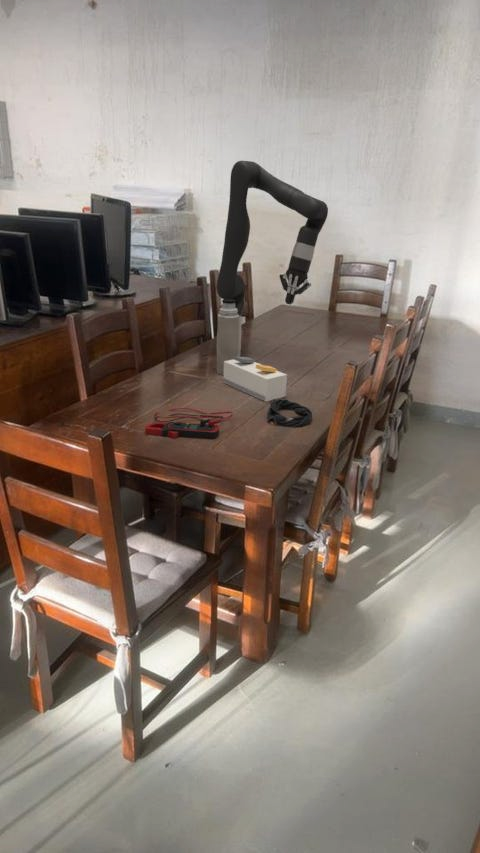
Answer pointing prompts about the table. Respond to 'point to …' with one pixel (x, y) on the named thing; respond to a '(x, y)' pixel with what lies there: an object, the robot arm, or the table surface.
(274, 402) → the cable
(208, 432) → the digital clamp meter
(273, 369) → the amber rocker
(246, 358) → the flat grey slab box
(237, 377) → the switch box
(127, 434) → the table surface
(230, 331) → the thermos bottle
